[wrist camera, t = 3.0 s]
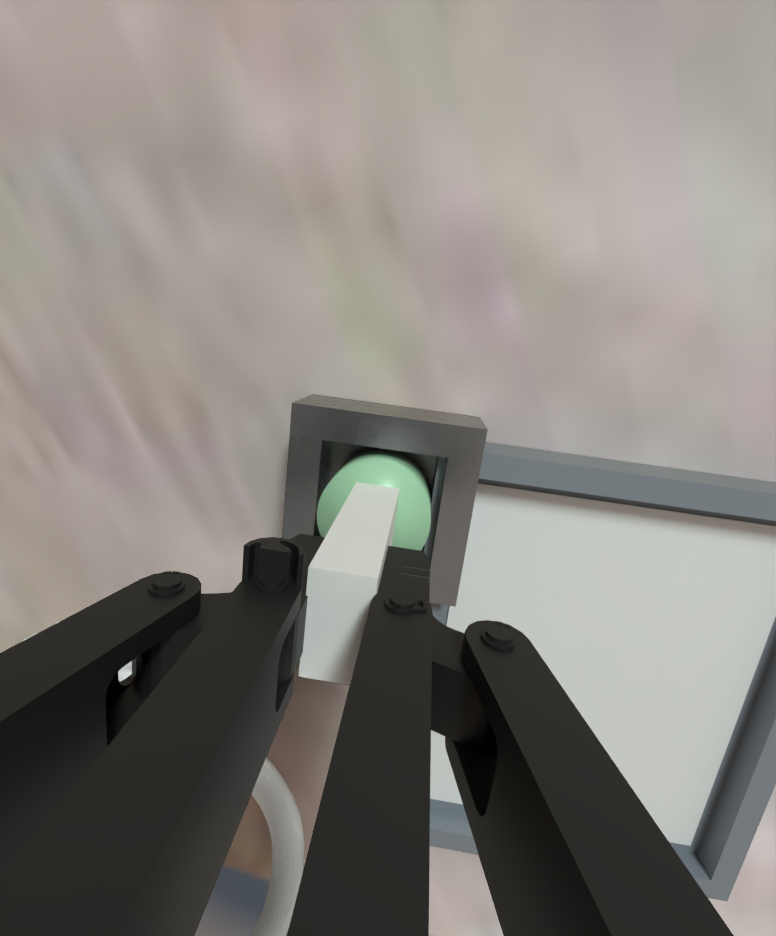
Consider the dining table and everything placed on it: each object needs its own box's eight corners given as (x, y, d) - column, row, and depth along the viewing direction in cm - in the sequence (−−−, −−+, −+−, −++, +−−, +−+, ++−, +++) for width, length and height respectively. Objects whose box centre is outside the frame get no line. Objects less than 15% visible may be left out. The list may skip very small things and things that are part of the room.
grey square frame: (299, 548, 22) (279, 578, 19) (312, 394, 20) (292, 402, 17) (452, 571, 22) (455, 606, 19) (479, 417, 20) (487, 429, 17)
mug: (396, 709, 24) (354, 1120, 11) (260, 827, 26) (103, 1266, 14) (156, 509, 22) (-203, 723, 10) (38, 655, 25) (-364, 973, 12)
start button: (325, 538, 20) (312, 563, 18) (335, 443, 19) (321, 456, 17) (423, 553, 20) (421, 580, 17) (438, 457, 19) (438, 473, 16)
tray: (384, 794, 25) (379, 836, 23) (439, 436, 20) (440, 446, 18) (701, 852, 24) (727, 901, 22) (838, 491, 19) (888, 509, 17)
